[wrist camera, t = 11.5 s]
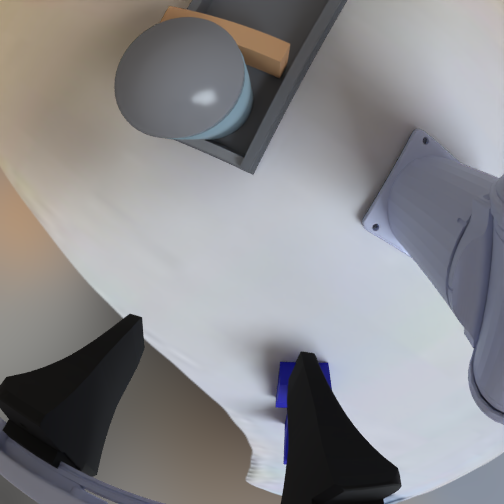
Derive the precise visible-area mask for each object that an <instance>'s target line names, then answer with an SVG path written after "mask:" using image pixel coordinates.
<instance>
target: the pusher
mask: <svg viewBox="0 0 504 504" xmlns="http://www.w3.org/2000/svg"><path fill="white" fill-rule="evenodd" d="M180 17H196V18H202V19H206V20H209V21H211V22H214V23H216V24H218V25H219V26H221V27H222V28H224V29H225V30H226V31H227V32H228V33H229V34H230V35H231V36H232V37H233V39H234V40H235V41H236V43H237V45H238V47H239V49H240V51H241V53H242V55H243V57H244V61H245V64H246V65H249V66H251V67H254V68H256V69H259V70H261V71H263V72H266V73H268V74H270V75H273V76H275V77H277V78H279V79H280V77H281V76H282V74H283V72H284V70H285V68H286V66H287V63H288V56H289V50H290V43H287V42H285V41H283V40H280V39H278V38H276V37H273V36H271V35H268V34H265V33H263V32H260V31H258V30H255V29H252V28H249V27H246V26H243V25H240V24H237V23H234V22H231V21H228V20H225V19H221V18H218V17H214V16H211V15H207V14H203V13H199V12H195V11H191V10H186V9H182V8H177V7H172V6H169V7H168V9H167V11H166V12H165V14H164V16H163V18H162V19H161V21H160V23H161V22H163V21H166V20H170V19H174V18H180Z"/></svg>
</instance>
